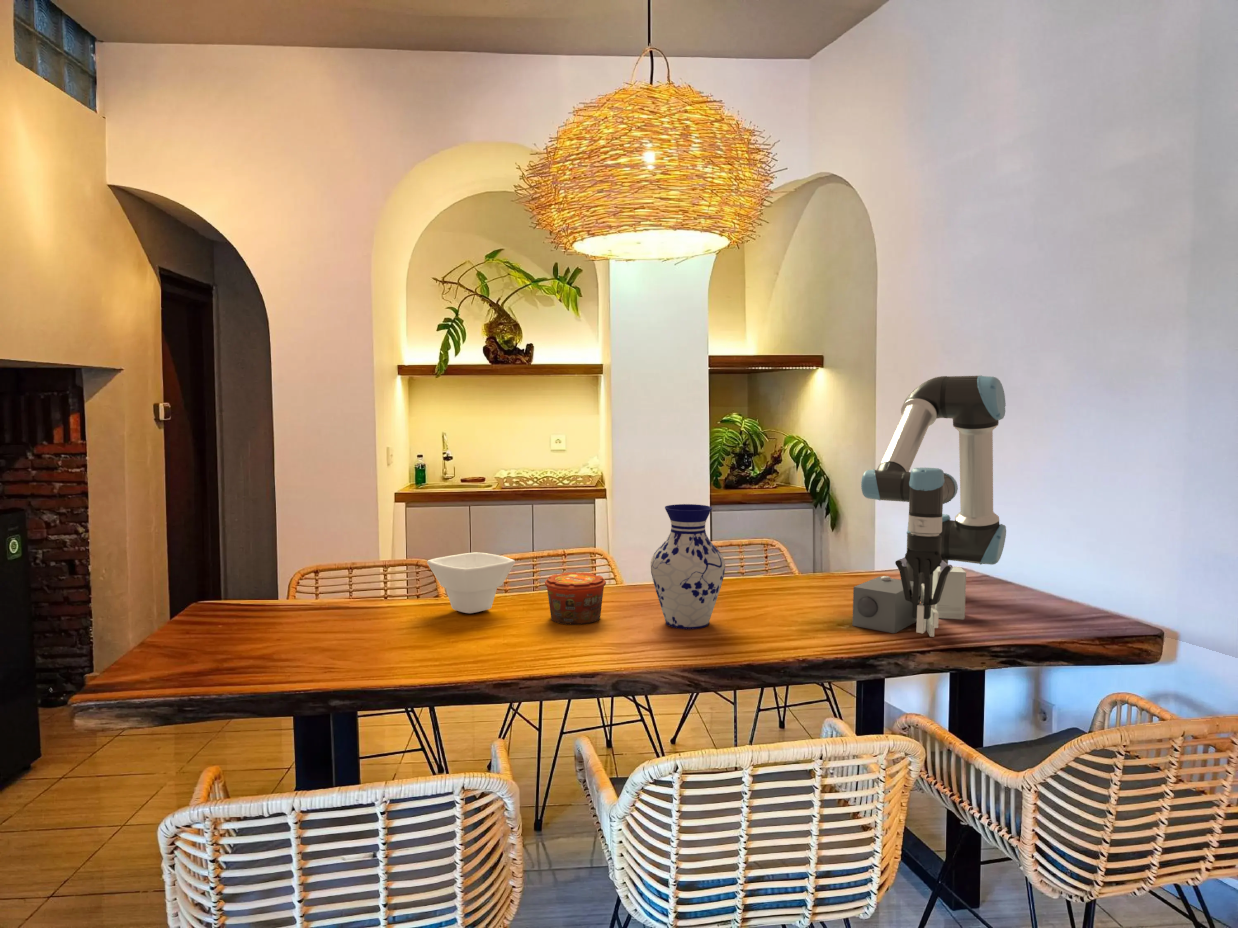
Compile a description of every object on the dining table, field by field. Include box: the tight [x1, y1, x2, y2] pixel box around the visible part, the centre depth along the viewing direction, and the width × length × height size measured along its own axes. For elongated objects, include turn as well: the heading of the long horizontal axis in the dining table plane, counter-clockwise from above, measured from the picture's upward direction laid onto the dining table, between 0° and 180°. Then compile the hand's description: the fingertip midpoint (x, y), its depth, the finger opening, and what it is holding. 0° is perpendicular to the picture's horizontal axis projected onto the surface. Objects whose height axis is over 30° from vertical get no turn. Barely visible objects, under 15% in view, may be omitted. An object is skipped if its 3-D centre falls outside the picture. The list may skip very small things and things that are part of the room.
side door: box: [920, 584, 940, 638], centre depth 213 cm, size 22×1×10 cm, turn 168°
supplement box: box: [932, 566, 967, 620], centre depth 228 cm, size 7×7×13 cm
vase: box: [650, 503, 726, 630], centre depth 218 cm, size 19×19×30 cm
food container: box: [544, 571, 607, 626], centre depth 224 cm, size 16×16×11 cm
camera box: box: [852, 575, 917, 634], centre depth 220 cm, size 17×11×11 cm, turn 140°
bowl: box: [426, 551, 516, 614], centre depth 230 cm, size 19×19×14 cm
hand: (921, 631), depth 204 cm, fingers closed
